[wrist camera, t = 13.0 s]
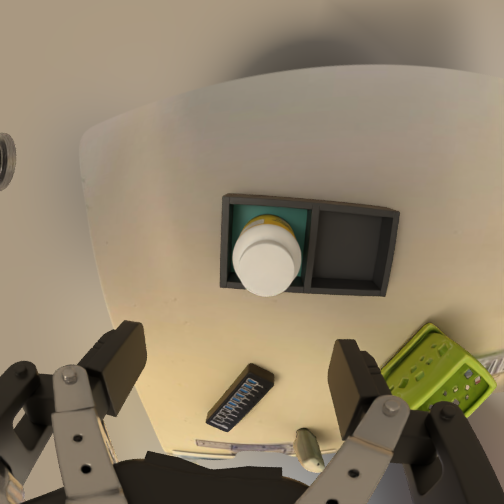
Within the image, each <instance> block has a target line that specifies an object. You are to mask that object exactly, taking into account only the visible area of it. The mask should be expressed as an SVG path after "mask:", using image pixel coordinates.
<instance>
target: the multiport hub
mask: <svg viewBox="0 0 504 504" xmlns="http://www.w3.org/2000/svg"><path fill="white" fill-rule="evenodd" d="M273 386H274V374H273V373H271V372H269V371H266V370H264V369H262V368H260V367H258V366H256V365H254V364H252V363H250V364H248V365H247V367H246V368H245V369H244V370H243V372H242V373H241V374H240V375H239V377H238V378H237V379H236V380H235V381H234V383H233V384H232V385H231V386H230V387H229V389H228V390H227V391H226V392H225V393H224V395H223V396H222V397H221V398H220V399H219V401H218V402H217V403H216V404H215V405H214V406H213V408H212V409H211V410H210V411H209V412H208V415H207V419H206V423H207V424H209V425H211V426H213V427H216V428H218V429H220V430H223V431H225V432H229V431H230V430H231V429H232V428H233V427H234V426H235V425H236V424H237V423H238V422H239V421H240V420H241V419H242V418H243V417H244V416H245V415H246V414H247V413H248V412H249V411H250V410H251V409H252V408H253V407H254V406H255V405H256V404H257V403H258V402H259V401H260V400H261V399H262V398H263V396H264V395H265V394H266V393H267V392H268V391H269V390H270V389H271V388H272V387H273Z"/></svg>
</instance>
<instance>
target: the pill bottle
mask: <svg viewBox="0 0 504 504" xmlns="http://www.w3.org/2000/svg"><path fill="white" fill-rule="evenodd" d="M233 266H234V269H235V272H236V274H237V275H238V277H239V278H240V280H241V282H242V284H243V285H244V287H245V288H246V289H247V290H248V291H250V292H251V293H253V294H255V295H258V296H263V297H270V296H275V295H278V294H280V293H282V292H283V291H285V290H286V289H287V288H288V287H289V285H290V284H291V282H292V281H293V280H294V278H295V277H296V276H297V274H298V272H299V269H300V266H301V251H300V247H299V244H298V242H297V240H296V237H295V235H294V232H293V230H292V228H291V226H290V225H289V224H288V223H287V222H286V221H285V220H284V219H282V218H281V217H279V216H276V215H272V214H263V215H259V216H256V217H254V218H252V219H251V220H250V221H249V222H248V223H247V224H246V225H245V226H244V228H243V230H242V232H241V234H240V236H239V238H238V240H237V242H236V244H235V247H234V250H233Z"/></svg>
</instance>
